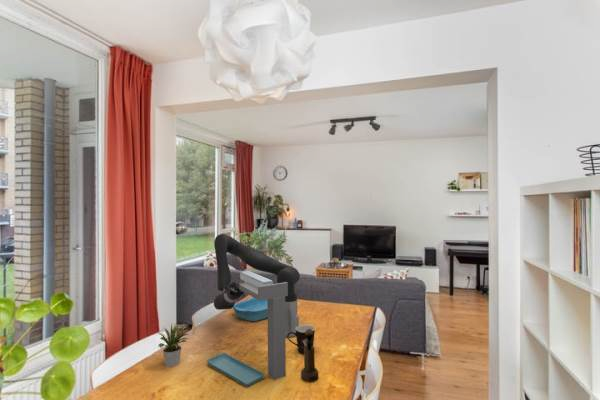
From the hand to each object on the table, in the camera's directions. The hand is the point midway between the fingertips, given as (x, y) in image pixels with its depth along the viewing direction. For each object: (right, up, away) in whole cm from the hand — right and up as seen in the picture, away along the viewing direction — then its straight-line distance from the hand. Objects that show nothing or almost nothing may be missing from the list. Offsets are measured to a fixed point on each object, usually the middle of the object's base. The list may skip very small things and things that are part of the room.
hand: (244, 281), depth 144 cm
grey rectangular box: (+6, +2, -10) cm, 12 cm away
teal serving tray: (-1, -31, -19) cm, 37 cm away
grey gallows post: (+10, -30, -17) cm, 36 cm away
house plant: (-28, -31, -14) cm, 44 cm away
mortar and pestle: (+29, -30, -24) cm, 48 cm away
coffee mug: (+26, -31, -2) cm, 40 cm away
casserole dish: (+2, -32, +49) cm, 59 cm away
